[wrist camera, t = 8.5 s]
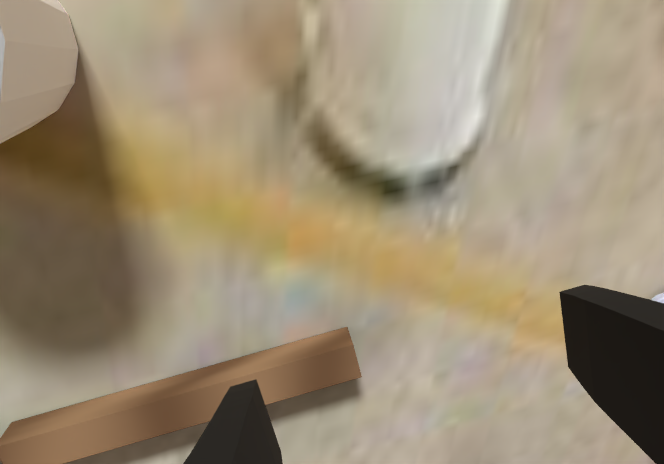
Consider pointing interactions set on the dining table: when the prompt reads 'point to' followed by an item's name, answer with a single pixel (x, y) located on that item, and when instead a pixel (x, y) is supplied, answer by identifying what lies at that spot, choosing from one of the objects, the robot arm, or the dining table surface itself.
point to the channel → (177, 401)
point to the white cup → (34, 62)
